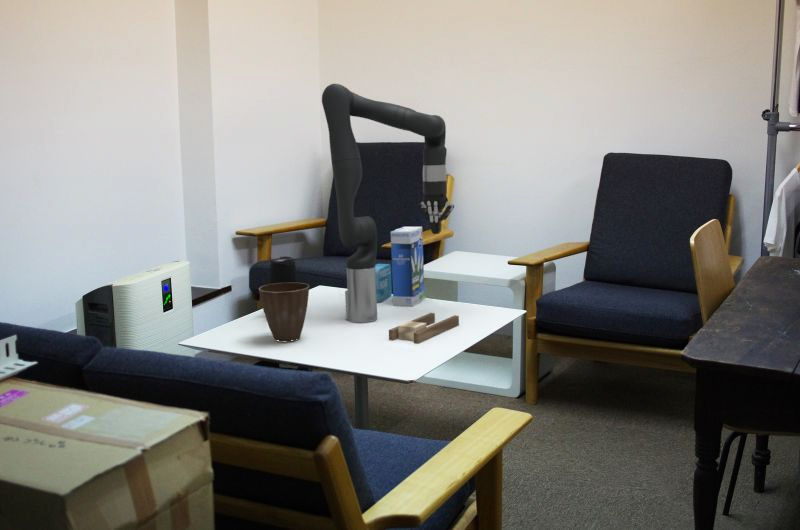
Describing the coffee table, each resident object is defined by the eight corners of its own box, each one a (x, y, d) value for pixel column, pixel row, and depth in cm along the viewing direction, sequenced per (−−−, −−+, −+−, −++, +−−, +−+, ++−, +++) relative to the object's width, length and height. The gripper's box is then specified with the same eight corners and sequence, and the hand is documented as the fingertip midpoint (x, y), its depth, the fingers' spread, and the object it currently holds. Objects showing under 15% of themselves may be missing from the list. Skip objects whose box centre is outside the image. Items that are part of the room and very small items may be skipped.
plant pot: (256, 336, 282) (253, 285, 279) (303, 330, 288) (300, 280, 285) (269, 348, 268) (266, 294, 265) (318, 341, 274) (315, 288, 271)
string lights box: (412, 306, 315) (410, 231, 310) (391, 306, 317) (389, 231, 313) (425, 298, 327) (423, 226, 322) (405, 297, 330) (402, 225, 325)
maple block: (398, 338, 271) (398, 325, 270) (409, 334, 276) (408, 321, 275) (416, 341, 268) (415, 327, 267) (426, 336, 272) (426, 323, 272)
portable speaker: (301, 317, 305) (298, 259, 301) (272, 320, 302) (269, 261, 299) (297, 312, 313) (294, 255, 309) (269, 314, 310) (266, 257, 307)
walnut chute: (389, 342, 270) (388, 330, 270) (430, 324, 290) (430, 312, 289) (418, 345, 265) (418, 333, 264) (459, 327, 285) (458, 315, 284)
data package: (379, 303, 322) (378, 269, 320) (367, 302, 324) (366, 269, 322) (392, 296, 333) (391, 263, 331) (380, 295, 335) (379, 262, 333)
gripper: (410, 180, 293) (412, 234, 296) (447, 180, 286) (448, 236, 289) (422, 177, 299) (424, 231, 302) (458, 178, 292) (460, 233, 295)
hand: (436, 233), depth 295 cm, fingers closed
